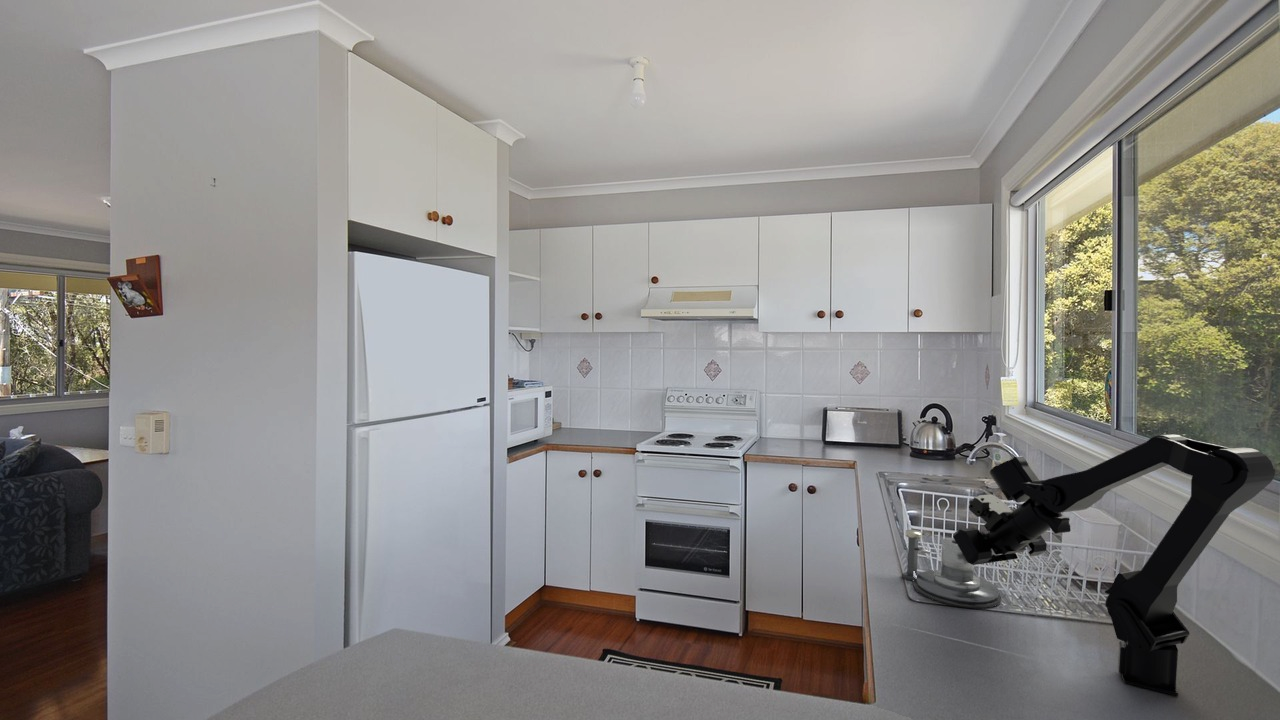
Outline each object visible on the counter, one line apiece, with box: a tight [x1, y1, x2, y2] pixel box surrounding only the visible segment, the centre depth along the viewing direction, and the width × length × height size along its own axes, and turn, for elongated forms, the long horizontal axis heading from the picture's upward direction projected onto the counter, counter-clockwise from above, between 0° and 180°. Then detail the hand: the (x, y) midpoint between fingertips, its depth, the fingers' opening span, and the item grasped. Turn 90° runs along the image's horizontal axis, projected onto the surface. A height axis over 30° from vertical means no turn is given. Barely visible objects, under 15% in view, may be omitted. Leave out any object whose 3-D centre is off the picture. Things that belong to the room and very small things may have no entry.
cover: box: [934, 537, 980, 592], centre depth 133 cm, size 8×8×9 cm
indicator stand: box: [901, 529, 932, 581], centre depth 140 cm, size 5×3×10 cm, turn 40°
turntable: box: [913, 569, 1002, 610], centre depth 134 cm, size 16×16×2 cm
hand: (972, 562), depth 130 cm, fingers closed
